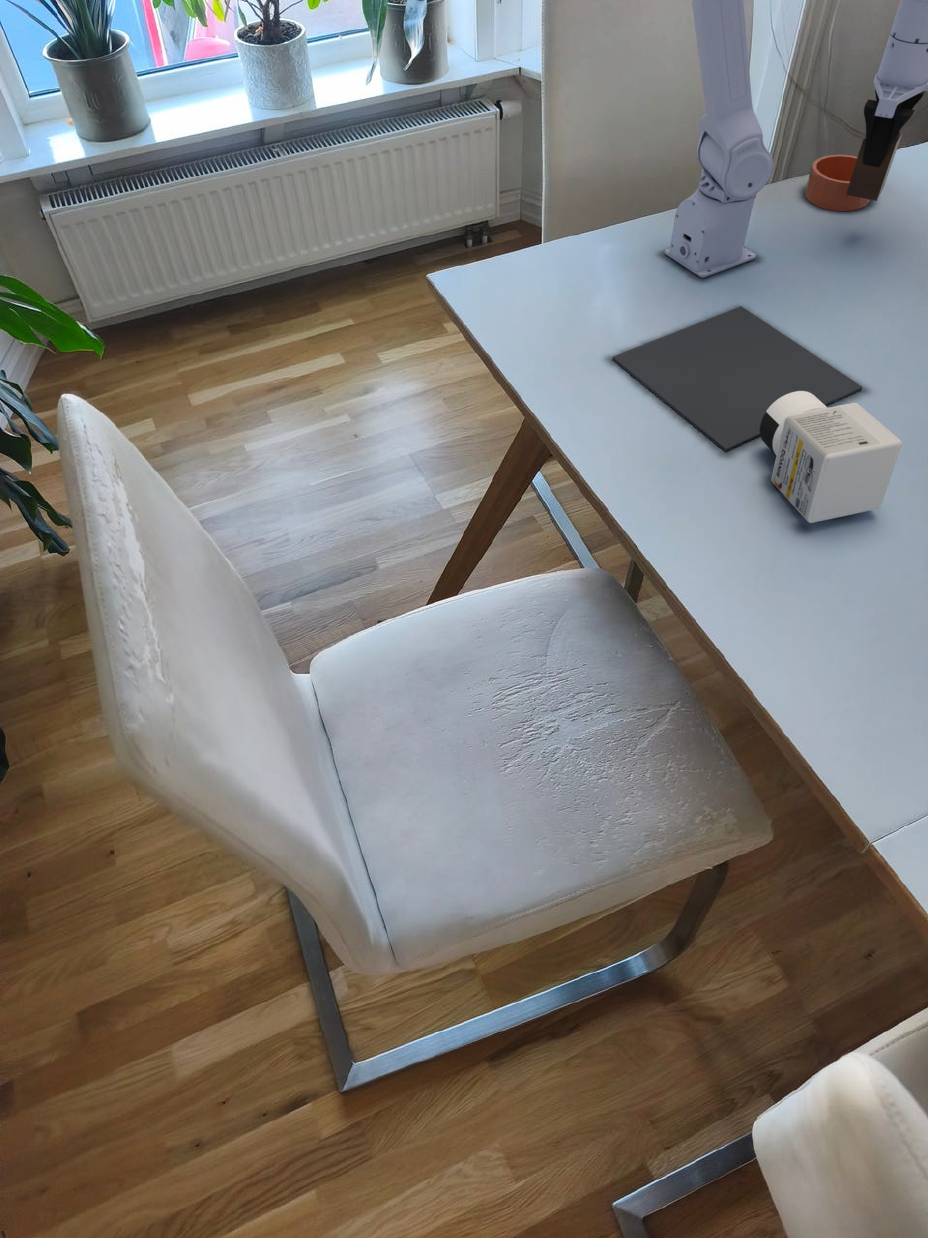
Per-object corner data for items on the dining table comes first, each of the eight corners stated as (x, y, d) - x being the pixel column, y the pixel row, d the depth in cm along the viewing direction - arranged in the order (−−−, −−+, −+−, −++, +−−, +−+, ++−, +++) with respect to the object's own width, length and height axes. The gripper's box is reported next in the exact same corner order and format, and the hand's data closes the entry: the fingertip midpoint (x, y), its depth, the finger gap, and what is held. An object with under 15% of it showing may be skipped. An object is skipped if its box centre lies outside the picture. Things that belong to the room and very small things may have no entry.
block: (876, 200, 111) (896, 144, 106) (845, 194, 112) (863, 138, 107) (883, 188, 113) (902, 131, 108) (852, 182, 115) (870, 126, 109)
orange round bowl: (837, 217, 121) (846, 188, 118) (791, 192, 126) (799, 164, 123) (883, 200, 124) (893, 171, 121) (836, 176, 129) (844, 149, 126)
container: (808, 525, 82) (744, 454, 91) (881, 509, 83) (811, 441, 92) (827, 457, 76) (757, 388, 85) (905, 441, 77) (827, 375, 86)
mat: (725, 451, 90) (726, 448, 90) (612, 359, 101) (612, 356, 101) (861, 389, 96) (862, 386, 96) (740, 308, 107) (741, 305, 107)
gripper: (940, 60, 94) (895, 186, 104) (963, 20, 102) (919, 141, 112) (874, 51, 96) (837, 175, 107) (901, 12, 104) (864, 132, 114)
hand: (875, 157), depth 110 cm, fingers closed on block, 4 cm apart
